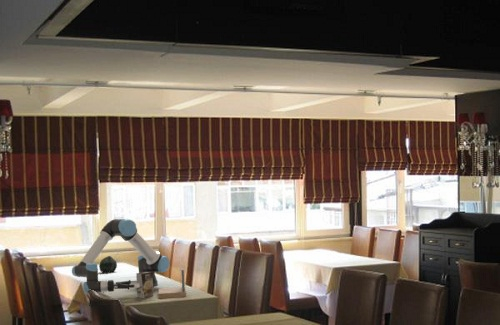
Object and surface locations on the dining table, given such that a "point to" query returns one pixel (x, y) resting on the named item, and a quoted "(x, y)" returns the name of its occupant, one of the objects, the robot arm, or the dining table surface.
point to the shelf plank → (171, 292)
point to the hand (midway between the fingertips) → (140, 283)
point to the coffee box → (144, 284)
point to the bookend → (182, 279)
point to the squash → (108, 265)
